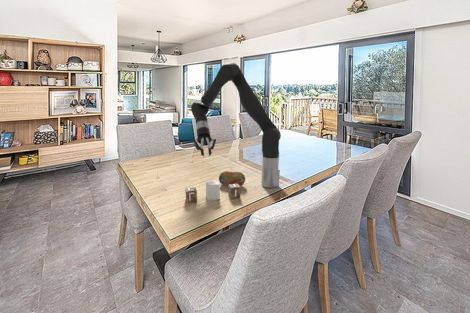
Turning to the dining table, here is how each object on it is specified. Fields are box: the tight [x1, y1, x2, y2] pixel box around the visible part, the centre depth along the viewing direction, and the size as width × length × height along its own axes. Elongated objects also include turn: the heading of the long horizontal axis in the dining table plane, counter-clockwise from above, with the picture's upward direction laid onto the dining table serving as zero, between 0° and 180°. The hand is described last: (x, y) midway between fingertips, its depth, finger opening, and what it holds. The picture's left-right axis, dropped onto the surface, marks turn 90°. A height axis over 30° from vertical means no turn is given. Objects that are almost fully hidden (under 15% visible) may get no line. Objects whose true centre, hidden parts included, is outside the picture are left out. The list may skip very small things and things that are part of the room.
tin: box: [218, 170, 246, 187], centre depth 153 cm, size 15×3×8 cm, turn 76°
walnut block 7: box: [185, 186, 198, 204], centre depth 132 cm, size 5×5×6 cm
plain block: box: [205, 180, 221, 201], centre depth 136 cm, size 6×6×8 cm
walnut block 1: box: [227, 184, 241, 200], centre depth 138 cm, size 5×5×6 cm
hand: (206, 155), depth 149 cm, fingers open, 3 cm apart
